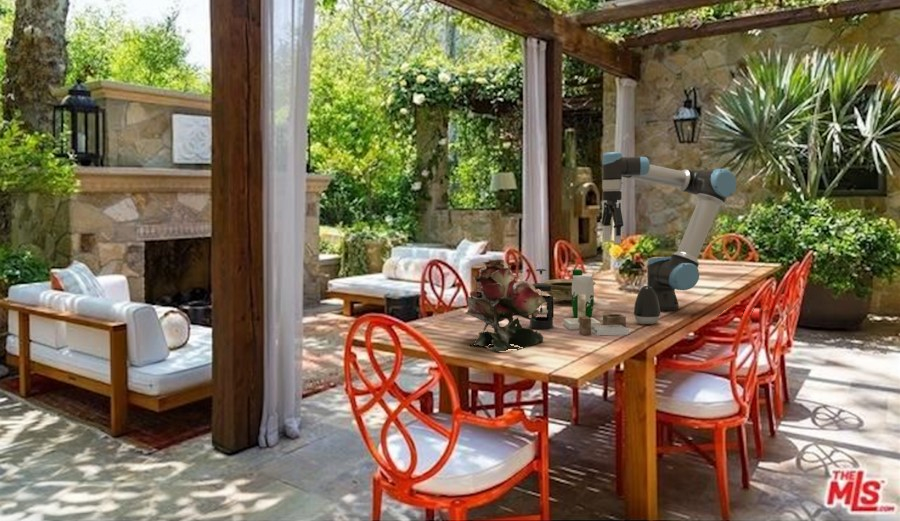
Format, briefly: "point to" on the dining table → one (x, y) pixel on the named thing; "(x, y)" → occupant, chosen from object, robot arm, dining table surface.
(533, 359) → the dining table surface
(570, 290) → the ceramic bowl
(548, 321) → the french press
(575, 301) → the milk carton
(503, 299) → the rose bouquet
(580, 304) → the dowel
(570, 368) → the dining table surface
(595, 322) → the tray
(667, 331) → the dining table surface
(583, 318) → the wooden block
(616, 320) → the socket block
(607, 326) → the plate
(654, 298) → the pump dispenser
